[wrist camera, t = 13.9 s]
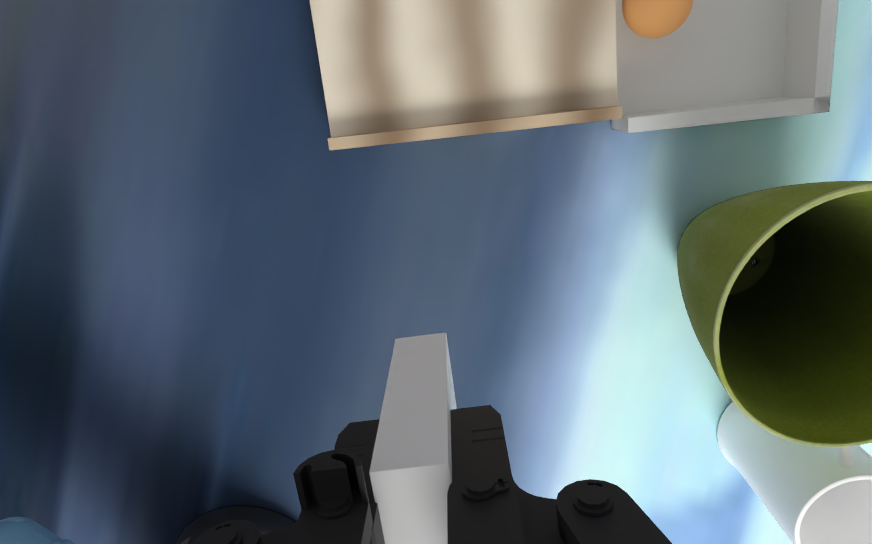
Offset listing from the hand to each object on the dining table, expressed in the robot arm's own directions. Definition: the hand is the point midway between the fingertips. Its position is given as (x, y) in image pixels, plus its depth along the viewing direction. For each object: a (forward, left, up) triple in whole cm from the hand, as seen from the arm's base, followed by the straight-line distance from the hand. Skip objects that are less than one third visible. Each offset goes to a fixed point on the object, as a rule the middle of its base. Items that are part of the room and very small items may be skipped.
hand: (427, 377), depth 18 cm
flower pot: (+22, -6, -30) cm, 37 cm away
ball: (+15, +12, -27) cm, 33 cm away
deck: (+3, +12, -30) cm, 32 cm away
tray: (+19, +12, -30) cm, 37 cm away
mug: (+26, -21, -30) cm, 45 cm away
